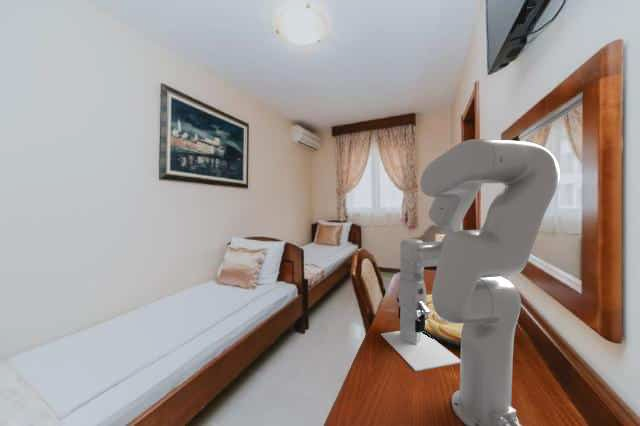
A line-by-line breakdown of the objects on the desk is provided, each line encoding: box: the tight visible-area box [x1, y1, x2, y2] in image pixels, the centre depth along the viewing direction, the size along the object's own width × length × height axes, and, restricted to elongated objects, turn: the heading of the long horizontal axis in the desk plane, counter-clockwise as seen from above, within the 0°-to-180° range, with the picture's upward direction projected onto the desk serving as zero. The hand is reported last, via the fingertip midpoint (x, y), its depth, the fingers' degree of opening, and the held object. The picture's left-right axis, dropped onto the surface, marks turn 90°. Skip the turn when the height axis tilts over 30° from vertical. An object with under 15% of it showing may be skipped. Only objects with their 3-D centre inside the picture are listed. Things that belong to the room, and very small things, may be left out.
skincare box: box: [399, 304, 421, 345], centre depth 84 cm, size 6×4×12 cm
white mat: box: [380, 330, 461, 372], centre depth 81 cm, size 20×16×1 cm
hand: (410, 324), depth 84 cm, fingers open, 9 cm apart
